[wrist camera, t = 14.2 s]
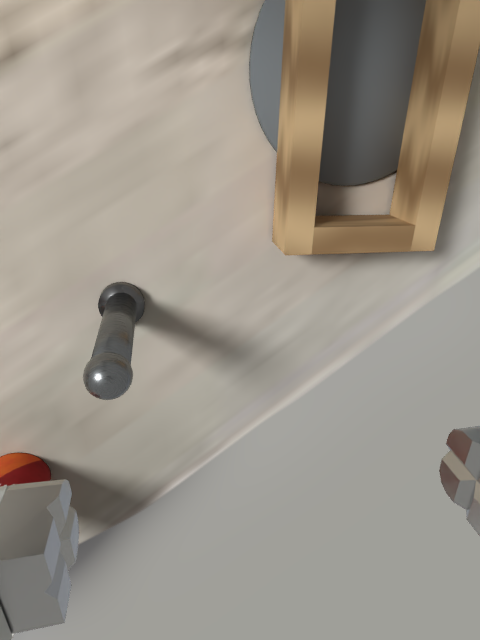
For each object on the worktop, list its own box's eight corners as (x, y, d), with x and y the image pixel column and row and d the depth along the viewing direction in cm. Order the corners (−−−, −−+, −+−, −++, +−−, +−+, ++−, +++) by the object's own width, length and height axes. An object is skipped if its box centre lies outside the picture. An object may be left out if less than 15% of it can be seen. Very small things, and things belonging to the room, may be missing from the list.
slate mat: (254, -89, 26) (256, -92, 25) (486, -61, 29) (490, -63, 28) (245, 184, 33) (246, 184, 32) (432, 185, 35) (435, 186, 35)
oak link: (294, -169, 24) (317, -218, 21) (480, -143, 26) (530, -184, 23) (272, 241, 35) (285, 255, 31) (407, 237, 37) (433, 250, 33)
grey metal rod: (97, 282, 34) (67, 363, 23) (143, 281, 35) (136, 359, 23) (101, 323, 35) (76, 417, 24) (145, 321, 36) (140, 412, 25)
